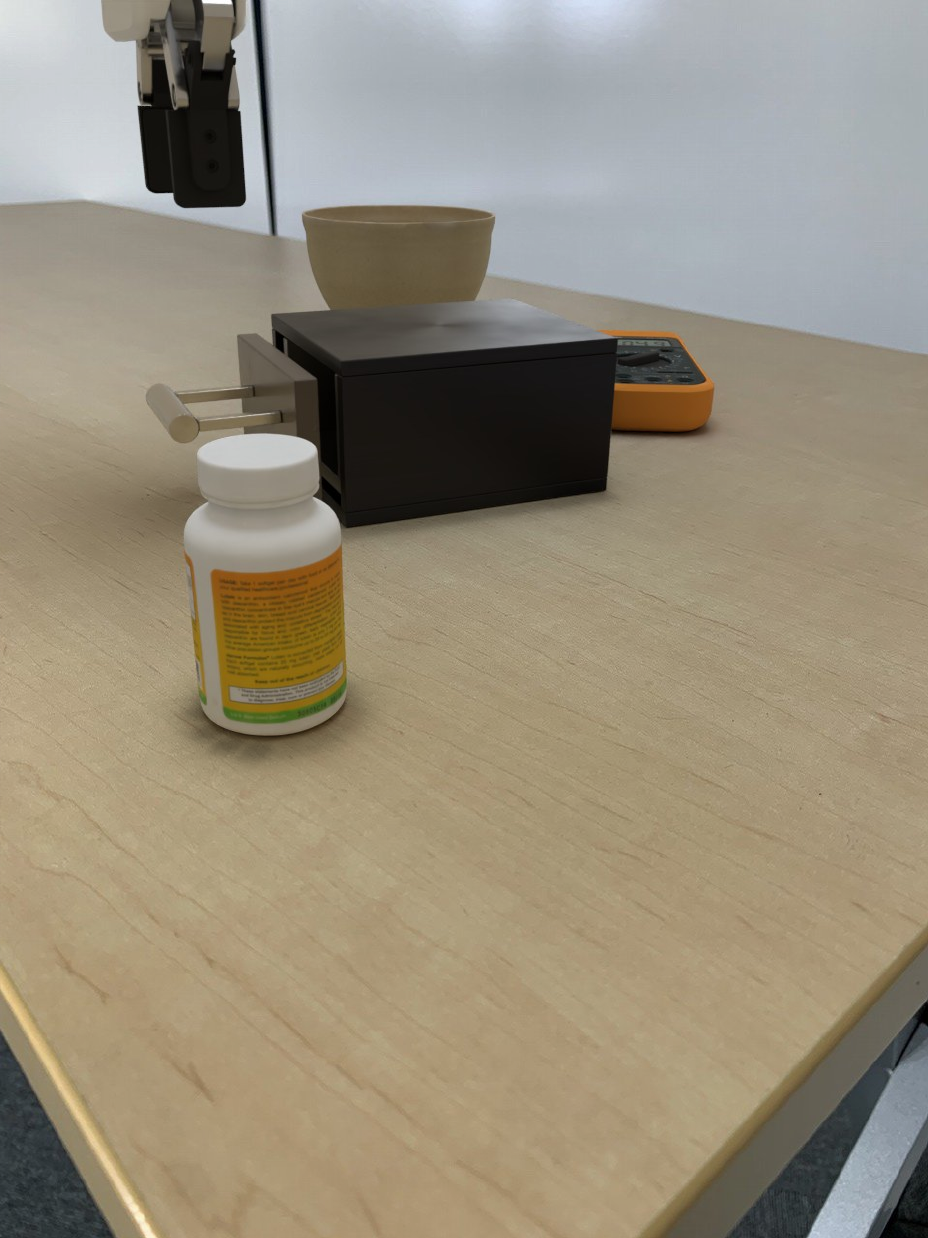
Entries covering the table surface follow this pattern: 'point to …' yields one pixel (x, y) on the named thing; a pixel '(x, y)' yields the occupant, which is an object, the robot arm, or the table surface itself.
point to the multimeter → (658, 384)
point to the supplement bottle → (265, 587)
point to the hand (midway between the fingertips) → (193, 195)
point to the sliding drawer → (266, 402)
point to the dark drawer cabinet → (460, 405)
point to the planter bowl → (397, 253)
